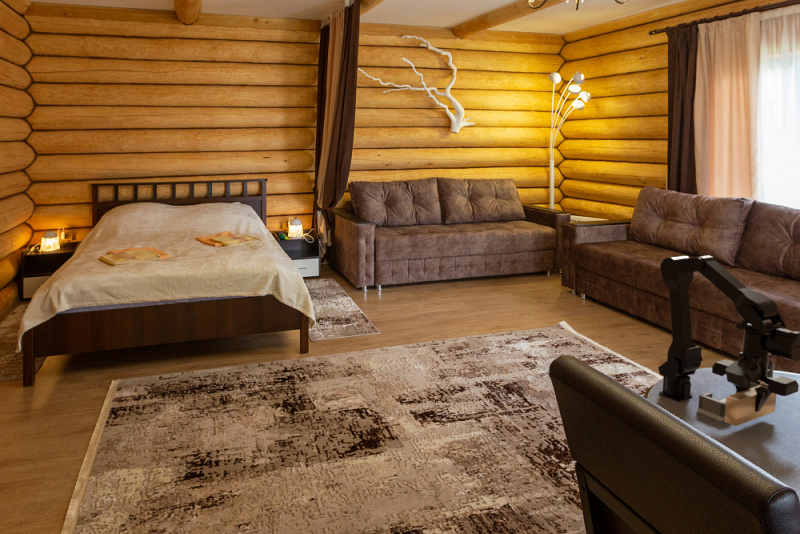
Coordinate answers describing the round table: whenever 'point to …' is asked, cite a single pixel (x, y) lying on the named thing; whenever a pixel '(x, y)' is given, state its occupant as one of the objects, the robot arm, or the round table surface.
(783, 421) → the round table surface
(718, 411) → the slat rail
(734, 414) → the slat
